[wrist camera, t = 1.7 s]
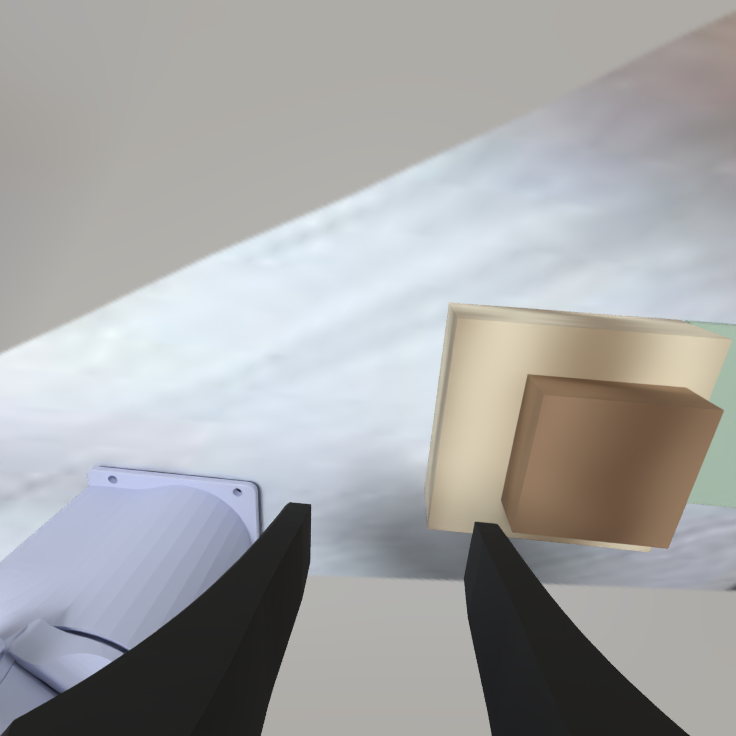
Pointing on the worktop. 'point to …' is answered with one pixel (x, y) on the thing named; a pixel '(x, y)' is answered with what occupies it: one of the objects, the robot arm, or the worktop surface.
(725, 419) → the green mat
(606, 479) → the walnut coaster
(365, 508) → the worktop surface
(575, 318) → the birch board
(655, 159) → the worktop surface
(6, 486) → the worktop surface
